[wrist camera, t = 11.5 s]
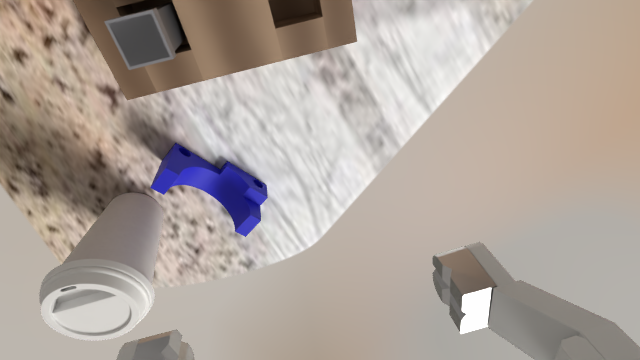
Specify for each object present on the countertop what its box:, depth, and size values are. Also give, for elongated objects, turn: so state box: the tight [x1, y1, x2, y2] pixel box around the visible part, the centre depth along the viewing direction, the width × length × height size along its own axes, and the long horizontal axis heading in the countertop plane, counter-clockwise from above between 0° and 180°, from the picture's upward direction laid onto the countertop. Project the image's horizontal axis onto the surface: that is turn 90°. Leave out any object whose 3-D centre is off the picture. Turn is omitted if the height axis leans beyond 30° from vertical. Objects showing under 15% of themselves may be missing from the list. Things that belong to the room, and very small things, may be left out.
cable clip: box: [151, 143, 268, 237], centre depth 40 cm, size 12×4×6 cm, turn 47°
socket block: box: [73, 0, 357, 100], centre depth 31 cm, size 22×10×5 cm, turn 101°
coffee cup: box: [40, 193, 164, 340], centre depth 37 cm, size 10×10×15 cm
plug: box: [104, 2, 186, 70], centre depth 28 cm, size 3×3×9 cm
